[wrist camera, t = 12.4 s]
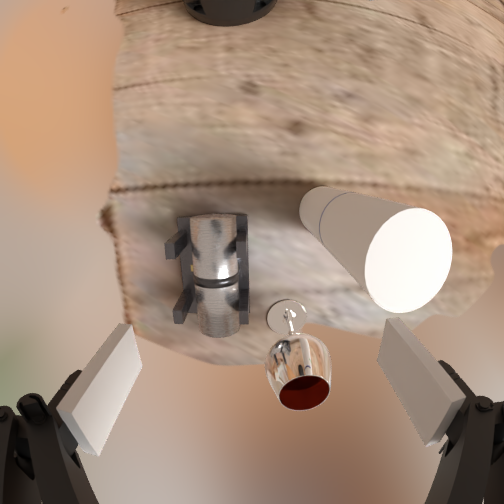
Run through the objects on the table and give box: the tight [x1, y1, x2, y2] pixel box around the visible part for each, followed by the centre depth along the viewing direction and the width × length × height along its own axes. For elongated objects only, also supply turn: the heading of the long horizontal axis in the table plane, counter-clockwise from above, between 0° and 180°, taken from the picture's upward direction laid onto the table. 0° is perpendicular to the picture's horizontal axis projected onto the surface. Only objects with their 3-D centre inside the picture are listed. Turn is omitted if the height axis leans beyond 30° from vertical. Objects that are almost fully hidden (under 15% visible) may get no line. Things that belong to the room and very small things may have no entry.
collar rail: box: [164, 215, 250, 324], centre depth 39 cm, size 15×10×8 cm, turn 1°
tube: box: [190, 214, 240, 338], centre depth 38 cm, size 16×6×6 cm, turn 1°
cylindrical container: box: [299, 186, 452, 313], centre depth 28 cm, size 7×7×25 cm
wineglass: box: [265, 300, 331, 411], centre depth 36 cm, size 8×8×18 cm
